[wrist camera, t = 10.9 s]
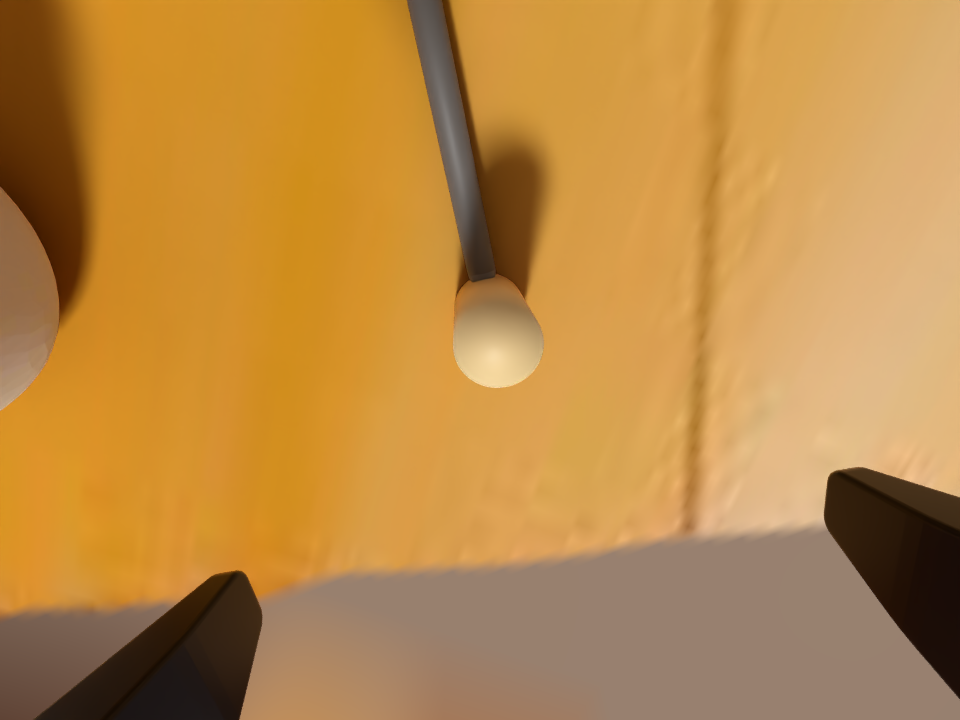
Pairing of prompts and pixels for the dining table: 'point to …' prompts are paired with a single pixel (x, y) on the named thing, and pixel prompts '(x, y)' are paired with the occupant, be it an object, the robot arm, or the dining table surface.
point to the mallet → (473, 228)
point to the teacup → (23, 303)
